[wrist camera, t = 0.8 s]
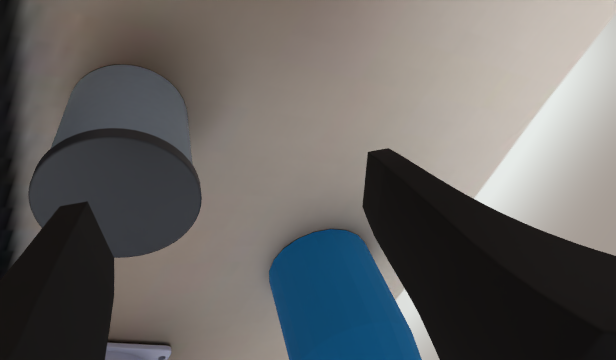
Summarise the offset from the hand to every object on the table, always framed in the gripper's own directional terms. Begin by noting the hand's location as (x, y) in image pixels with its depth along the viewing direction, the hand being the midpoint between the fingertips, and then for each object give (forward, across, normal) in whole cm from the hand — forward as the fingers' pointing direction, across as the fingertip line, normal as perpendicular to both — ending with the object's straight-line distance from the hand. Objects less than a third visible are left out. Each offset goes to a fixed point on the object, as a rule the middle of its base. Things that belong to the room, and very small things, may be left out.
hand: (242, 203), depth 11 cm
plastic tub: (+10, +4, +2) cm, 11 cm away
